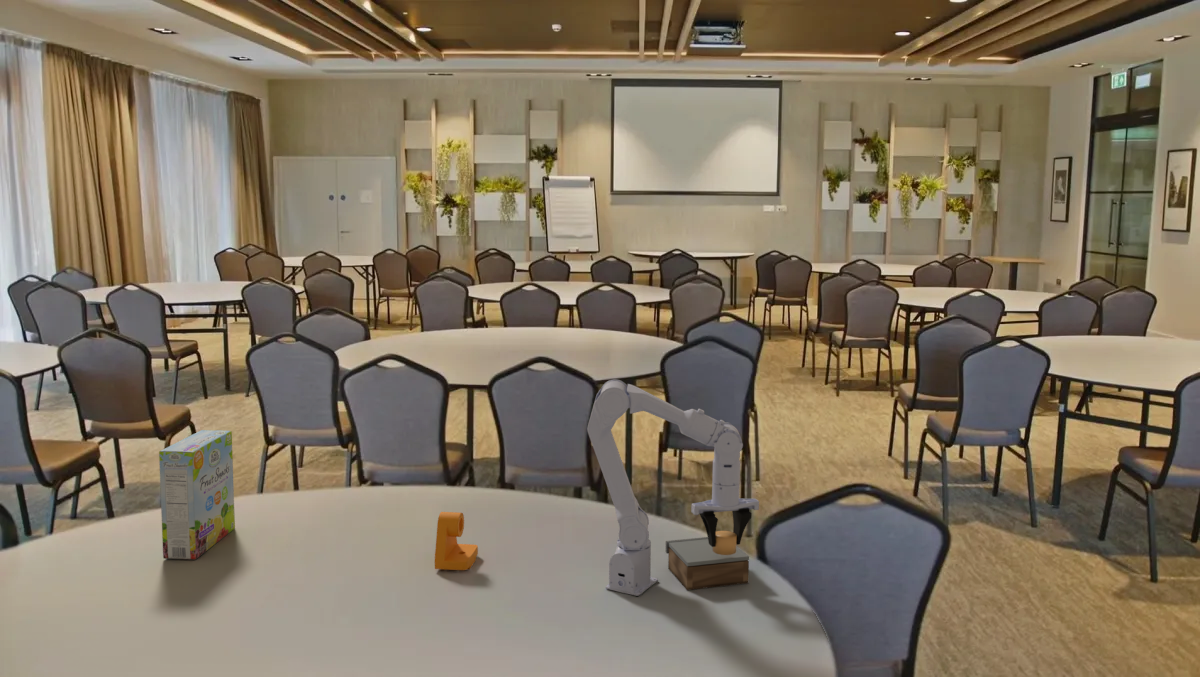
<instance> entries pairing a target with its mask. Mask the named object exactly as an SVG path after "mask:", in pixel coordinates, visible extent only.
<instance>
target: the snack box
mask: <svg viewBox="0 0 1200 677" xmlns="http://www.w3.org/2000/svg"><path fill="white" fill-rule="evenodd" d="M232 433H233V432H232V431H231V430H225V429H224V430H222V429H219V430H218V429H217V430H211V429H209V430H208V429H206V430H205V429H201V430H199V431H197V432H196V433H193V434H191V435H189V436H187V437H185V438H183V439H181V440H180V441H177V442H175V443H174V444H170V445H169V446H167V447H166V448H163V449H161V450H159V452H158V460H159V462H158V463H159V482H160V483H159V484H160V485H159V486H160V487H159V489H160V504H161V505H160V506H161V507H160V508H161V510H160V511H161V513H160V514H161V537H162V558H163V560H164V559H165V560H166V559H167V560H193V561H194V560H197V559H198V558H200V557H201V556H202V555H203V554H205V553H206V552H207V551H208V550H210V549H211V548H212V547H213V546H215V545H216V544H217V543H219V542H220V541H221V540H222V539H224V538H225V537H226V536H228V535H229V534H230V533H232V531H234V529H236V523H235V522H236V521H235V520H236V519H235V518H236V517H235V515H236V514H235V496H234V494H235V493H234V491H235V488H234V463H233V462H234V459H233V437H232V435H233V434H232Z"/></svg>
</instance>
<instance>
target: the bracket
mask: <svg viewBox="0 0 1200 677" xmlns="http://www.w3.org/2000/svg"><path fill="white" fill-rule="evenodd" d="M463 513H464V512H454V511H451V512H450V511H441V512H440V513H439V515H438V518H437V526H436V538H435V550H434V553H435V554H434V570H450V571H466V570H471V568H472V567H471V566H474V564H475V562H476V560H477V556H478V554H479V548H478V545H477V544H471V543H470V544H467V543H458V539H457V538H461V537H462V536H463V534H464V527H465V517H464V516H465V515H464V514H463ZM473 563H474V564H473Z"/></svg>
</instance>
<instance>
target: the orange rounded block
mask: <svg viewBox="0 0 1200 677" xmlns="http://www.w3.org/2000/svg"><path fill="white" fill-rule="evenodd" d="M736 542H737V535H736V534H735V533H733V531H729V530H718V531H717V530H716V545H715V547H713V552H714V553H717V554H720V555H732V554H734V553H736V545H737V544H736Z"/></svg>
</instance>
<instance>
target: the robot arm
mask: <svg viewBox="0 0 1200 677" xmlns="http://www.w3.org/2000/svg"><path fill="white" fill-rule="evenodd" d="M628 409H629V414H635V413H639V412H645V413H648V414H651V415H653V416H656V418H657V417H658V418H660V419H663V420H665V421H667V422H669V423H672V424H675V425H677V426H678V429H679V431H680V433H681V434H682V435H684V436H685V437H688V438H690V439H692V440H694V441H696V442H699V443H701V444H703V445H705V446H707V447H714V450H713V459H712V483H711V485H712V486H711V487H712V488H711V499H707V500H705V501H701V502H694V503H691V513H692V514H693V515H694V516H698V515H700V516H699V517H700V518H701V521H702V523H703V525H704V528H705V531H706V535H707V536H706V537H708V541H709V544H710V545H711V546H712V547H715V545H716V532H717V525H718V521H719V518H718V517H716V514H715V513H721V512H722V513H723V512H732V519H733V520H732V522H733V524H732V525H733V529H732V530H733V531H732V532H733V533H735V534H736V535H737V542H736V545H737V546H738V545H741V541H742V537H743V535H744V532H745V529H746V527H747V525H748V523H750V522H749V521H750V520H751V519H752V514H753V513H752V512H751V511H750V510H753V511H759V510H760V501H759V500H758V499H757V498H740V487H741V486H740V484H741V461H740V457H741V451H742V449H743V447H744V443H743V440H742V436H741V434H740V432H739V430H738V428H736V426H734V425H732V423H731V422H725V421H724V420H723V419H720V420H717V419H715V418H713V417H711V416H709V415H707V414H705V410H703V409H701V408H697V409H694V408H690V409H687V410H683V409H681V408H680V407H679V408H678V407H677V406H675V405H673V404H671V403H669V402H667V401H665V400H664V399H661V398H659V397H658V396H655V395H654V394H652V393H650V392H648V391H646V390H644V389H642V388H640V387H638V386H636V385H633V384H630V383H627V384H626V383H625V382H624V381H622V380H620V379H616V378H615V379H610V380H608V381H606V382H604V384H603V385H602V386H601V388H600V389H599V390H598V392H597V393H596V396H595V399H594V403H593V406H592V409H591V413H590V417H589V420H588V423H587V424H588V425H587V429H586V430H587V435H588V437H589V440H590V442H591V446H592V448H593V451H594V453H595V456H596V459H597V462H598V464H599V468H600V470H601V472H602V475H603V478H604V481H605V484H606V486H607V489H608V492H609V495H610V498H611V501H612V503H613V506H614V510H615V515H616V521H617V523H618V527H619V529H618V538H617V540H616V549H615V552H614V554H613V555H611V558H610V560H609V562H608V563H609V564H608V566H609V571H608V572H609V573H608V574H609V577H608V580H609V582H608V584H607V585H605V589H606V590H611V591H616V592H619V593H623V594H628V595H632V596H637V597H638V596H640V595H642V594H643V593H644V592H645V591H647V590H648V589H650V587H652V586H653V585H654V584H655V583H657V582H658V581H659V579H658V577H653V576H651V562H652V561H651V560H652V558H651V557H652V556H651V553H652V552H651V544H652V542H651V540H650V538H649V537H650V534H649V523H650V522H649V521H650V520H649V517H648V516H649V515H648V514H647V513H646V512H645V511H644V510H643V509H642V507H641V506H640V504H639V501H638V499H637V498H636V497H635V494H634V491H633V488H632V485H631V483H630V480H629V477H628V474H627V471H626V468H625V464H624V463H623V460H622V457H621V455H620V452H619V448H618V446H617V443H616V440H615V438H614V435H613V432H612V429H613V428H614V426H615V424H616V421H617V420H618V419H620V418H621V417H622V416H623V415H624V414H626V412H627V411H628Z"/></svg>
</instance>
